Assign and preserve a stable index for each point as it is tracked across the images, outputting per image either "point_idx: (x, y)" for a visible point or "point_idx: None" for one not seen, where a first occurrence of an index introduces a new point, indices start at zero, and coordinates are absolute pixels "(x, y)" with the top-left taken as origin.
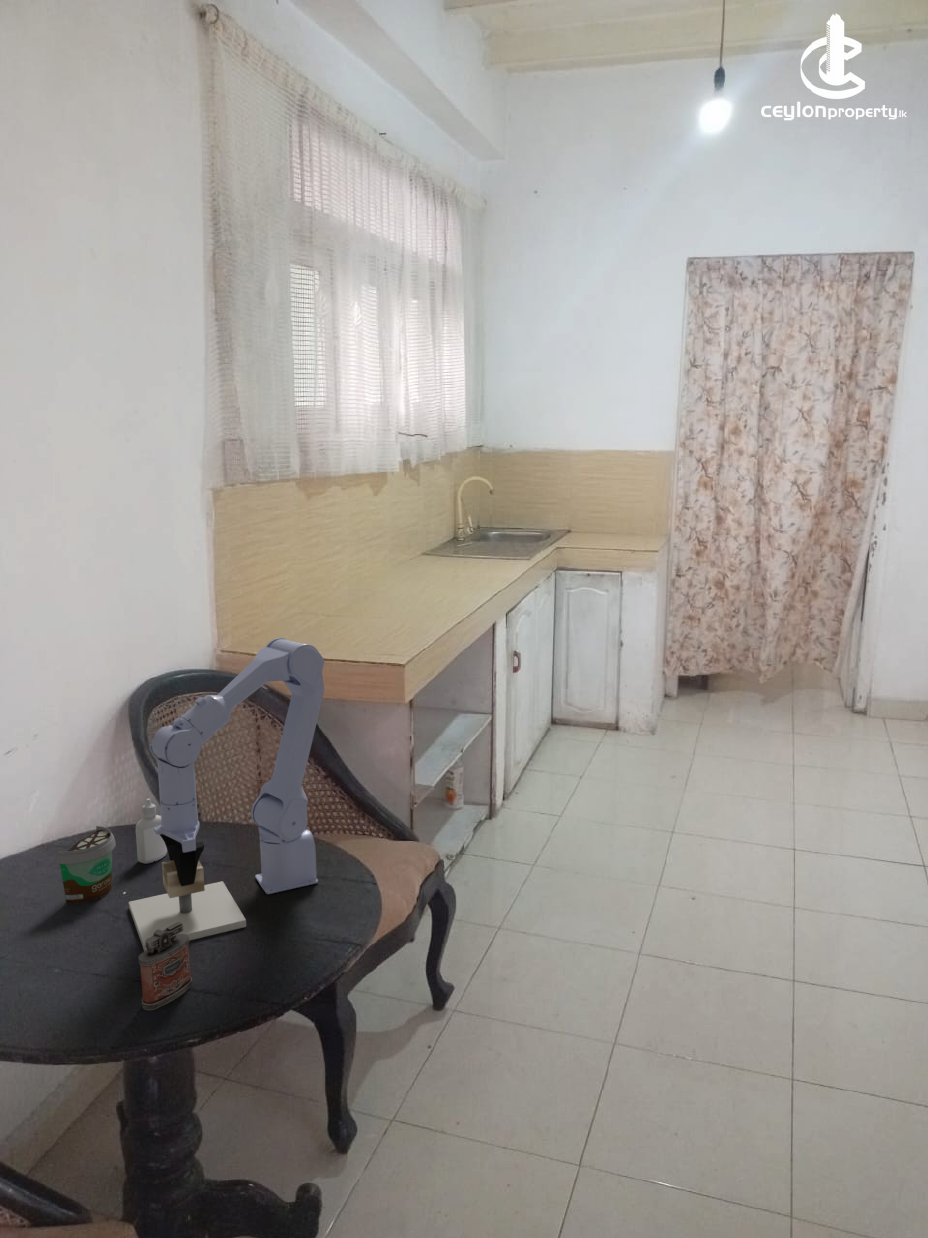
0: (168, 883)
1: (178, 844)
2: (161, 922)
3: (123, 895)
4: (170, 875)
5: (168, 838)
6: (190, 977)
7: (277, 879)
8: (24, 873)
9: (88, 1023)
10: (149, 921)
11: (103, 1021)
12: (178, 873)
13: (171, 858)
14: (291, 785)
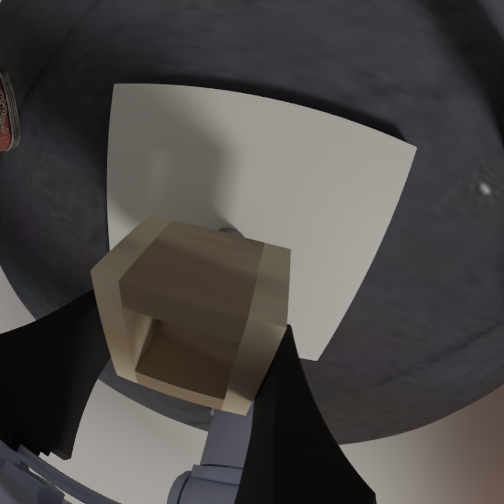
0: (118, 246)
1: (15, 432)
2: (202, 160)
3: (478, 178)
4: (92, 278)
5: (260, 490)
6: (6, 150)
7: None
8: None
9: (18, 5)
10: (232, 132)
11: (10, 23)
12: (65, 305)
13: (273, 372)
14: None
